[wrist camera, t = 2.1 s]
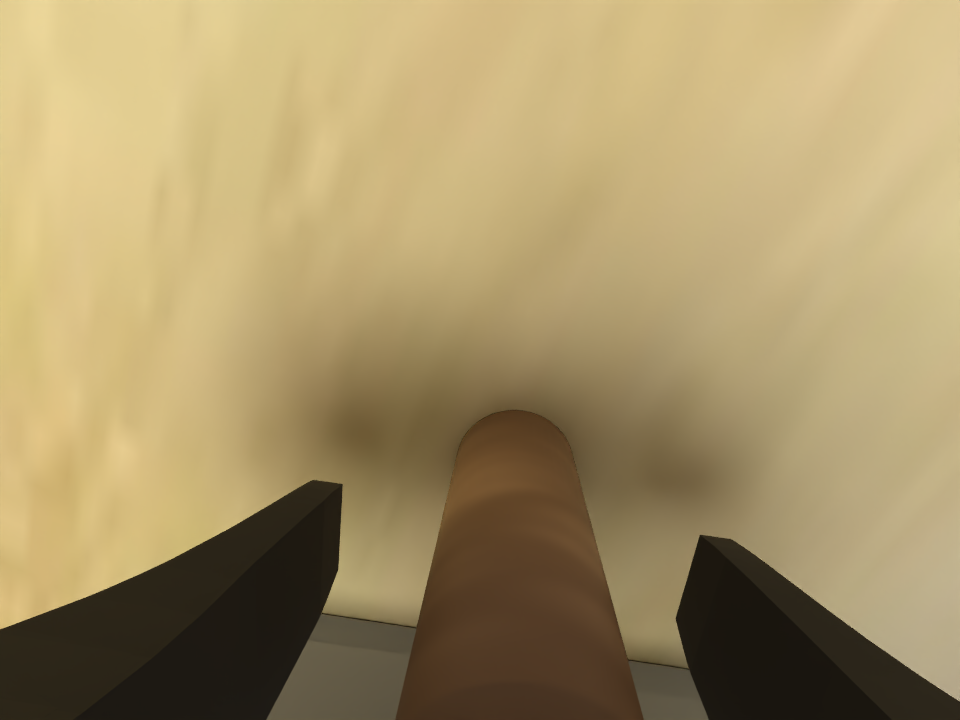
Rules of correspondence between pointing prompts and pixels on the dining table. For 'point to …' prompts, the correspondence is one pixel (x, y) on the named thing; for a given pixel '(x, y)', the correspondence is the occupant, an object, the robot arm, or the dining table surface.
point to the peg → (517, 591)
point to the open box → (382, 668)
